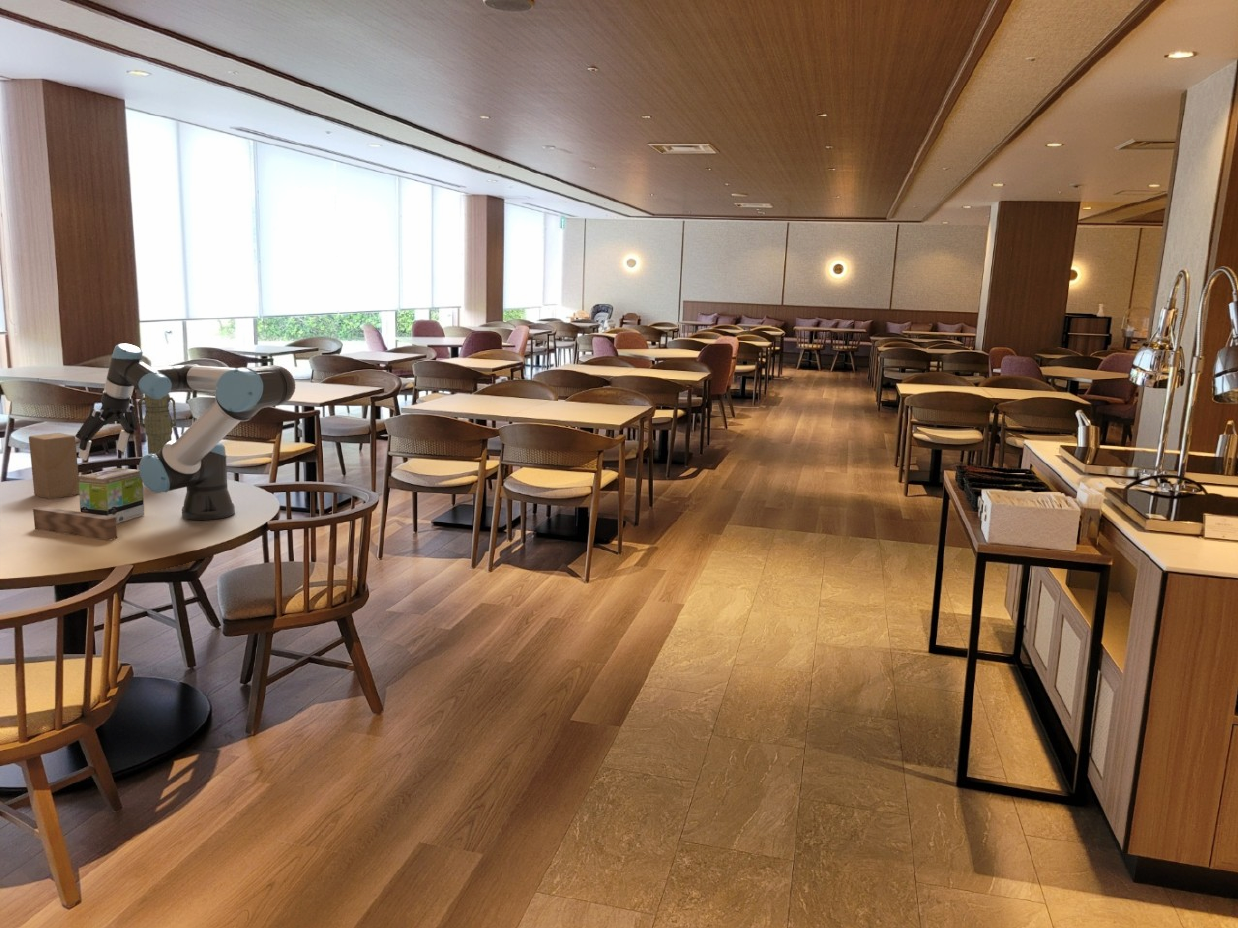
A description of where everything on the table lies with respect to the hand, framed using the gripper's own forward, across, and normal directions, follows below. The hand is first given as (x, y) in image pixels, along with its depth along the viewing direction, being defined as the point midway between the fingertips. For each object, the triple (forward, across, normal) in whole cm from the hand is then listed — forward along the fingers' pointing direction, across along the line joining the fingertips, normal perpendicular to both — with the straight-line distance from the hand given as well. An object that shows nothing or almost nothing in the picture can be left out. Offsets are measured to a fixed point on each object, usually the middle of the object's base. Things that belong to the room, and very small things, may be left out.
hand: (102, 454), depth 277 cm
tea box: (+14, +6, +16) cm, 21 cm away
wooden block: (+31, -11, -23) cm, 41 cm away
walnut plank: (+12, +21, +18) cm, 30 cm away
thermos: (+27, -42, -11) cm, 51 cm away
